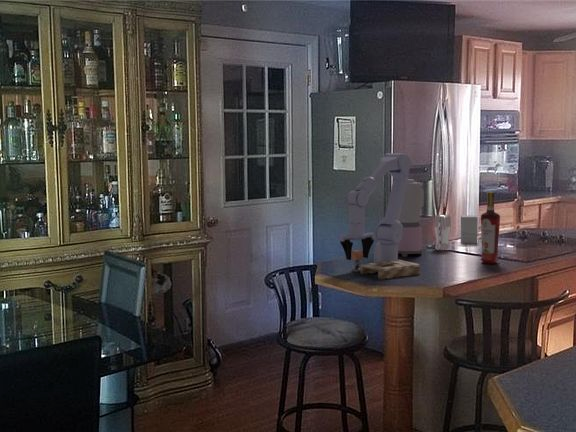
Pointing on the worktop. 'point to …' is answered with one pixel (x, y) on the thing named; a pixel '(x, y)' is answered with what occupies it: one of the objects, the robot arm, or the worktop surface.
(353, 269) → the keyhole peg
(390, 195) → the robot arm
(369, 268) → the keyhole plate
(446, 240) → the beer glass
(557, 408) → the worktop surface
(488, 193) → the liquor
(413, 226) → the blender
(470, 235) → the supplement box
